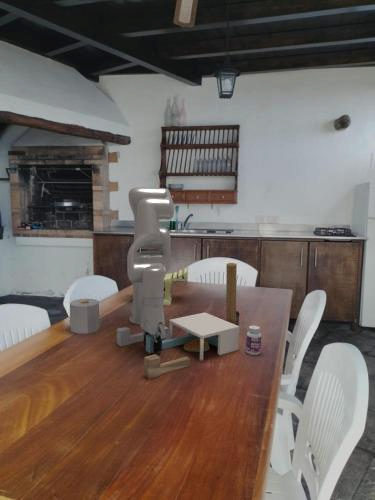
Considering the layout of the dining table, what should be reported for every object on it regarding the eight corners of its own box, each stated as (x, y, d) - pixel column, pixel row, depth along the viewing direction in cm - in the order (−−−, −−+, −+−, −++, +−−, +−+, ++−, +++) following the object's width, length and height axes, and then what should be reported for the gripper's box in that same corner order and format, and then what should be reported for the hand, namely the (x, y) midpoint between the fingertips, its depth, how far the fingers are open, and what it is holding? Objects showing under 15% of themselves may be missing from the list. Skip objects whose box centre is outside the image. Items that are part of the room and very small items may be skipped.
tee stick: (114, 341, 147) (114, 327, 146) (158, 332, 159) (158, 318, 158) (123, 348, 140) (123, 333, 140) (168, 337, 152) (169, 323, 151)
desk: (168, 342, 148) (169, 319, 146) (204, 333, 158) (204, 312, 157) (201, 360, 131) (201, 335, 130) (238, 349, 142) (239, 326, 140)
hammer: (233, 342, 155) (233, 273, 145) (220, 341, 156) (220, 273, 146) (240, 319, 173) (240, 256, 164) (229, 317, 174) (229, 256, 165)
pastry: (187, 354, 137) (187, 344, 137) (180, 347, 143) (180, 338, 143) (210, 351, 140) (211, 341, 140) (203, 344, 147) (203, 335, 146)
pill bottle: (251, 356, 136) (252, 330, 135) (242, 351, 141) (243, 325, 139) (263, 353, 138) (264, 328, 137) (254, 348, 143) (255, 323, 142)
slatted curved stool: (187, 297, 214) (187, 266, 212) (186, 305, 198) (187, 271, 196) (134, 296, 215) (134, 265, 212) (129, 303, 199) (129, 270, 196)
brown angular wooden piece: (144, 375, 120) (144, 357, 119) (185, 363, 130) (185, 346, 129) (149, 378, 118) (149, 360, 117) (190, 366, 127) (191, 349, 126)
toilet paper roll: (105, 329, 161) (104, 302, 159) (79, 336, 152) (79, 308, 150) (89, 322, 169) (88, 297, 167) (64, 328, 160) (63, 302, 159)
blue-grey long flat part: (145, 350, 139) (145, 334, 138) (201, 336, 154) (202, 322, 154) (164, 362, 129) (164, 346, 128) (221, 346, 144) (222, 331, 144)
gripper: (132, 296, 141) (132, 343, 144) (156, 308, 127) (156, 359, 130) (149, 294, 146) (149, 339, 148) (175, 305, 132) (174, 354, 134)
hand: (152, 348), depth 139 cm, fingers open, 6 cm apart
